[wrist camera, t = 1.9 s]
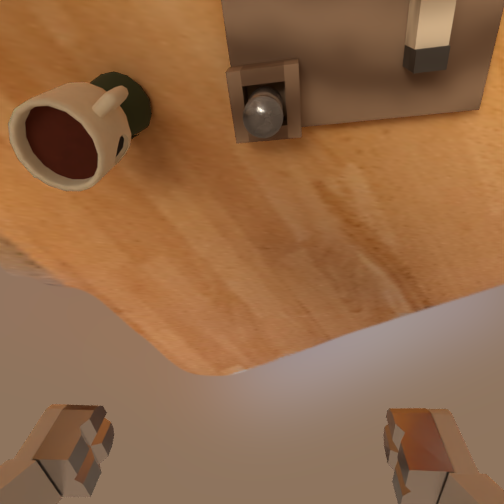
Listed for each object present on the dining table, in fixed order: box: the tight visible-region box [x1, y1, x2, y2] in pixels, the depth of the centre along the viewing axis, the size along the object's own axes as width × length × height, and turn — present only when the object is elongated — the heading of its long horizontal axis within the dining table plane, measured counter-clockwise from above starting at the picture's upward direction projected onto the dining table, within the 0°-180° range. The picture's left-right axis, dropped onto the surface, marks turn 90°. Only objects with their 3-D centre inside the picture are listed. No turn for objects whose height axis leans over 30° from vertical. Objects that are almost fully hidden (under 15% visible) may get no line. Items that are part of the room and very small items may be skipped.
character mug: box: [8, 72, 152, 191], centre depth 31 cm, size 11×7×13 cm, turn 128°
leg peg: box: [243, 86, 283, 138], centre depth 29 cm, size 3×3×4 cm
